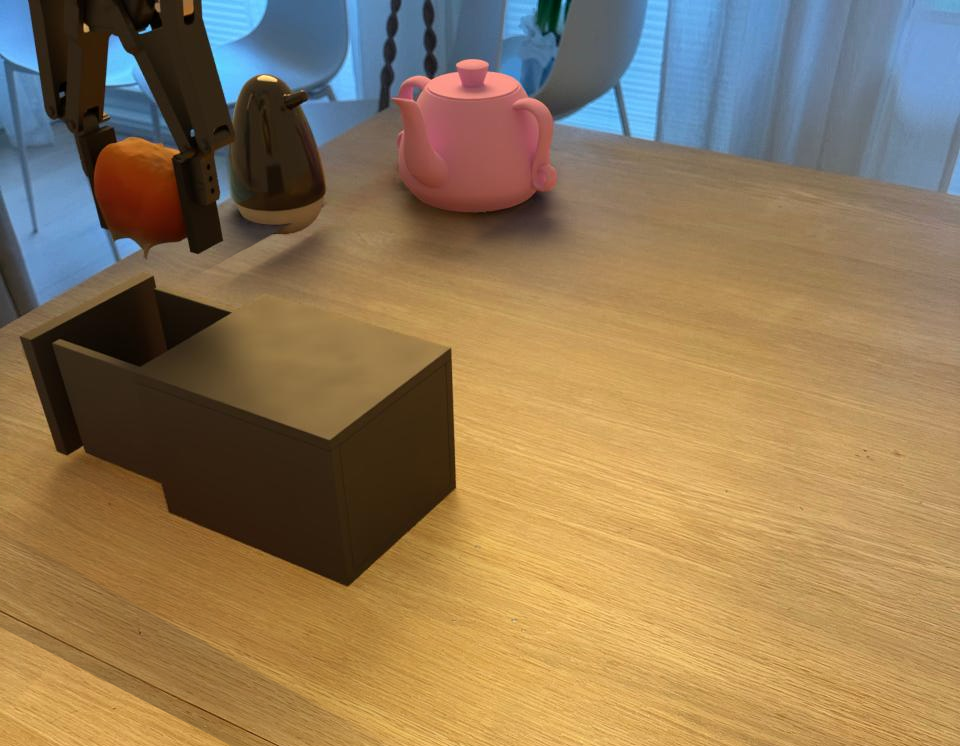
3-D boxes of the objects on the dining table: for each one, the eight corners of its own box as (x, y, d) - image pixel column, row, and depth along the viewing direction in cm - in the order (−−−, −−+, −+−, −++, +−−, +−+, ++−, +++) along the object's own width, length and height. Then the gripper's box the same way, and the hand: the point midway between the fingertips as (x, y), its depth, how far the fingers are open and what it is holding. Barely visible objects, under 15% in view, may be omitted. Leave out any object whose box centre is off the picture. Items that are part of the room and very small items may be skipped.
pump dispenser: (292, 252, 114) (271, 96, 104) (217, 232, 118) (190, 80, 108) (350, 219, 120) (336, 69, 110) (277, 201, 125) (257, 55, 114)
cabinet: (168, 512, 80) (132, 371, 73) (285, 427, 89) (265, 292, 81) (347, 587, 74) (329, 440, 66) (456, 488, 82) (451, 347, 74)
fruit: (57, 233, 77) (76, 115, 75) (139, 255, 84) (159, 147, 82) (137, 258, 74) (160, 135, 72) (217, 279, 81) (239, 167, 79)
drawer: (18, 436, 87) (-22, 321, 80) (131, 369, 94) (103, 260, 88) (205, 512, 79) (177, 392, 72) (311, 432, 87) (296, 317, 80)
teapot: (327, 210, 122) (312, 76, 113) (443, 153, 135) (438, 29, 126) (486, 255, 113) (485, 114, 103) (595, 189, 126) (602, 58, 116)
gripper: (257, -141, 63) (305, 244, 79) (8, -162, 71) (96, 191, 87) (168, -121, 58) (237, 284, 74) (-88, -146, 66) (23, 224, 82)
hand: (161, 233), depth 80 cm, fingers closed on fruit, 8 cm apart
